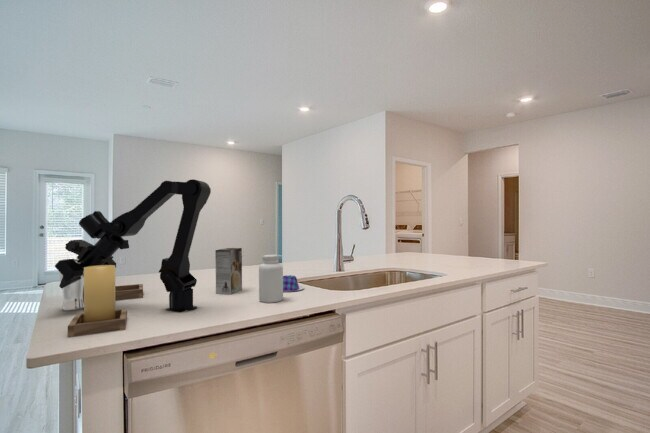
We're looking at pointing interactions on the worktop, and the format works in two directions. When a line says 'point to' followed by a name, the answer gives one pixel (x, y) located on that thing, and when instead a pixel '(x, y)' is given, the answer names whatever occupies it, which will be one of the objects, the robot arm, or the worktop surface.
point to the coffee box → (228, 270)
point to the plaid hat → (290, 284)
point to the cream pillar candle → (99, 293)
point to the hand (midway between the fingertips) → (70, 285)
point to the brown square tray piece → (97, 324)
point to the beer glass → (73, 293)
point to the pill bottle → (270, 279)
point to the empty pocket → (128, 292)
